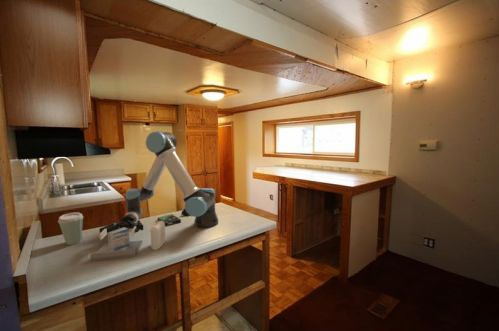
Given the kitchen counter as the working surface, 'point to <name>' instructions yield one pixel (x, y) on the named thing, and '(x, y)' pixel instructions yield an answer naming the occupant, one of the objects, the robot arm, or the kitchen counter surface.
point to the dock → (116, 251)
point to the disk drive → (169, 220)
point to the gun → (184, 213)
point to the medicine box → (118, 239)
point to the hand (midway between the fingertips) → (116, 235)
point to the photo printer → (157, 235)
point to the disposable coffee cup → (71, 227)
